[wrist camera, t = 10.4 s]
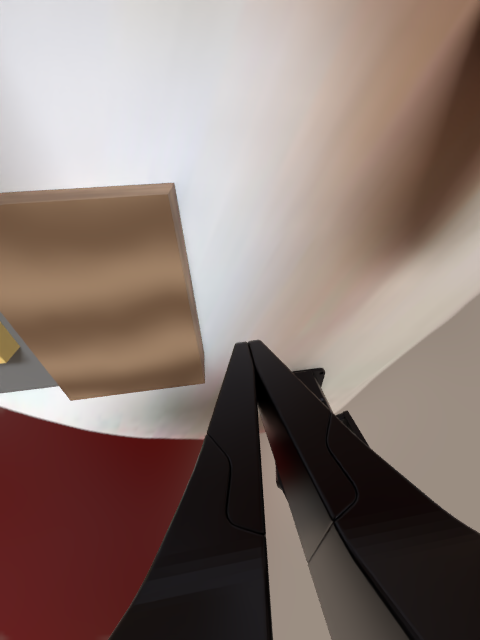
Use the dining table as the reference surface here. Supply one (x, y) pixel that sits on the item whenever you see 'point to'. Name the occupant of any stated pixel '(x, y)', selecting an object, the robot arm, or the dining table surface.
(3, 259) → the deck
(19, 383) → the mat
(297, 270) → the dining table surface
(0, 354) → the yellow flat block
